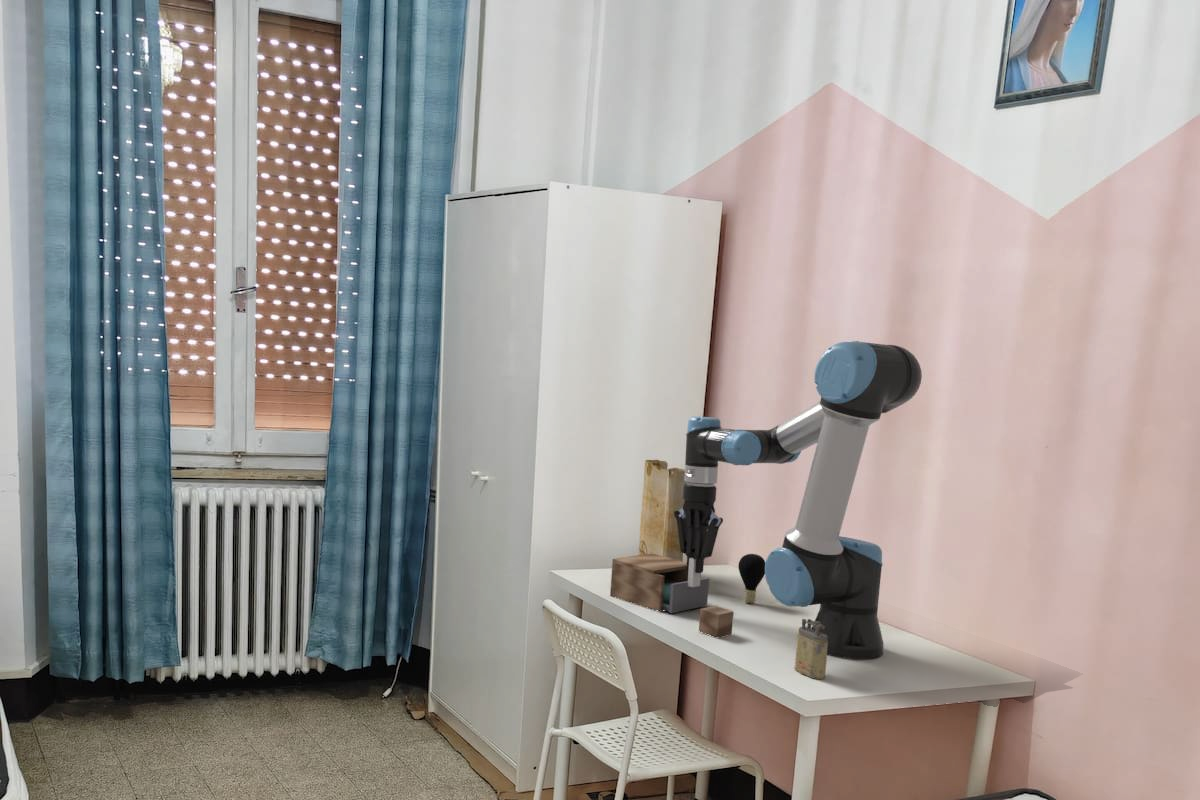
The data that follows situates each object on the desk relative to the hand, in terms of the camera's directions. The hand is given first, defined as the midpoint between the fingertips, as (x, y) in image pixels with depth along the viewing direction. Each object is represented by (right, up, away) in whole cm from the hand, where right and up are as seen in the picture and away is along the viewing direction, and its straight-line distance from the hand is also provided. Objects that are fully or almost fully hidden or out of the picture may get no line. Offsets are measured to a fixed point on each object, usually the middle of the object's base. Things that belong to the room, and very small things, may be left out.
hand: (693, 585), depth 225 cm
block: (+3, -7, -16) cm, 18 cm away
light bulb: (+15, -7, +12) cm, 20 cm away
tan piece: (-6, -4, +34) cm, 34 cm away
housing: (-9, -5, +9) cm, 13 cm away
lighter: (+18, -10, -39) cm, 44 cm away
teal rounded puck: (-5, -4, +6) cm, 9 cm away
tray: (-7, -5, +7) cm, 11 cm away
